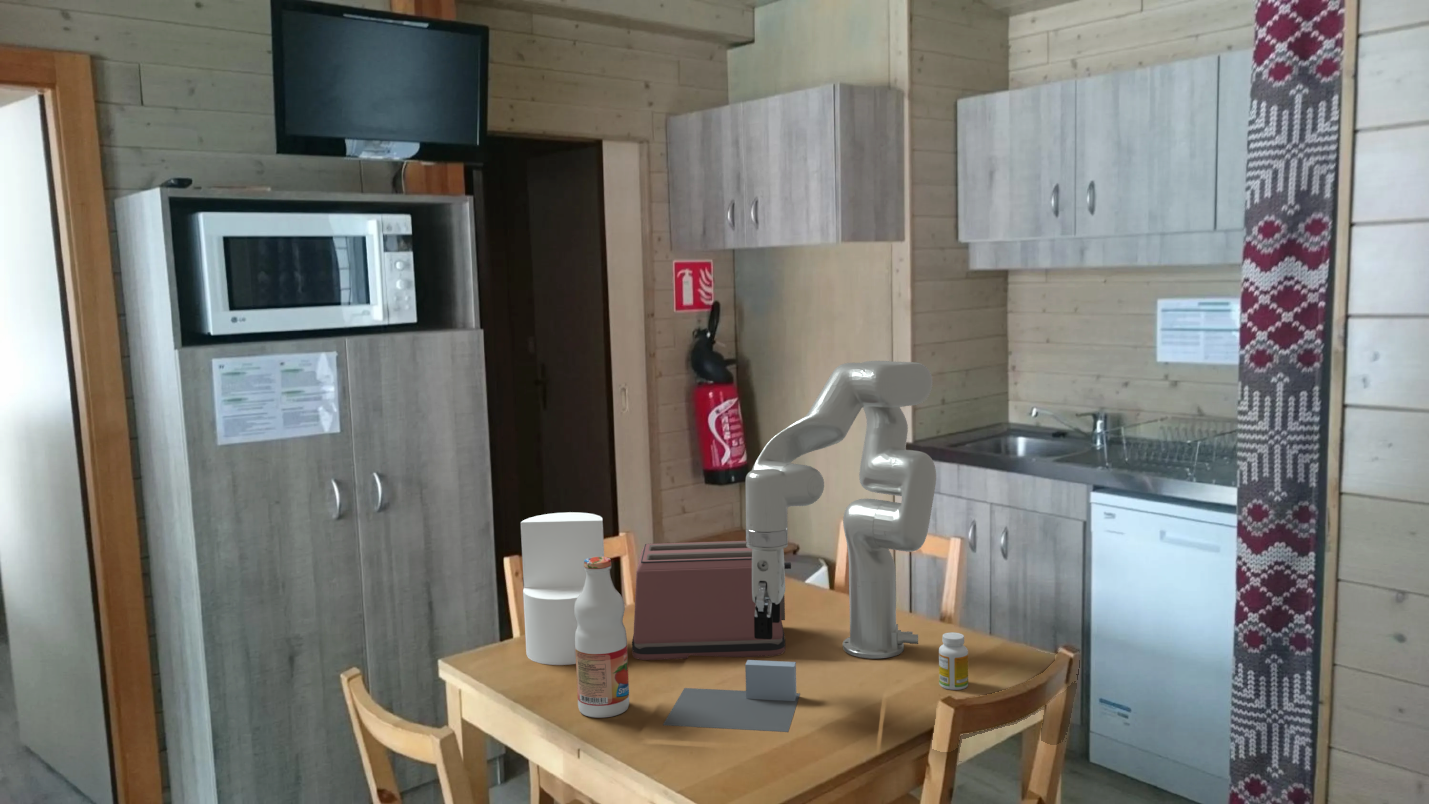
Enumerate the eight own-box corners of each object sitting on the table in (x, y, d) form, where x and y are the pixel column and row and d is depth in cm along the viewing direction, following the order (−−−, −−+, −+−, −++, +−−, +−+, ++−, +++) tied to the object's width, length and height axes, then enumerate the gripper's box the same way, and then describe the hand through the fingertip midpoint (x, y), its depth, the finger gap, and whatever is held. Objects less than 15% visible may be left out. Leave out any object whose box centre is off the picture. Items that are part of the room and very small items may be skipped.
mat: (800, 697, 200) (800, 693, 200) (788, 736, 184) (788, 731, 184) (684, 691, 205) (684, 687, 204) (662, 729, 188) (662, 724, 188)
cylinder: (535, 637, 238) (528, 513, 235) (613, 635, 238) (607, 511, 234) (518, 665, 221) (511, 532, 218) (602, 664, 221) (596, 530, 217)
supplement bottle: (969, 681, 205) (969, 632, 204) (966, 691, 200) (966, 641, 199) (941, 678, 207) (940, 629, 206) (937, 689, 202) (936, 639, 201)
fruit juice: (575, 701, 201) (568, 555, 198) (625, 695, 203) (619, 551, 200) (580, 721, 192) (573, 568, 189) (633, 715, 194) (627, 563, 191)
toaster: (796, 656, 222) (793, 559, 220) (631, 661, 222) (627, 564, 220) (789, 626, 241) (787, 536, 239) (637, 631, 241) (633, 541, 239)
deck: (796, 695, 199) (795, 661, 198) (794, 700, 197) (794, 666, 196) (748, 693, 201) (747, 659, 200) (746, 698, 198) (745, 664, 198)
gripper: (780, 549, 186) (781, 646, 187) (793, 528, 203) (793, 617, 204) (737, 548, 187) (739, 644, 189) (754, 527, 204) (754, 615, 206)
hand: (767, 630), depth 197 cm, fingers open, 9 cm apart
